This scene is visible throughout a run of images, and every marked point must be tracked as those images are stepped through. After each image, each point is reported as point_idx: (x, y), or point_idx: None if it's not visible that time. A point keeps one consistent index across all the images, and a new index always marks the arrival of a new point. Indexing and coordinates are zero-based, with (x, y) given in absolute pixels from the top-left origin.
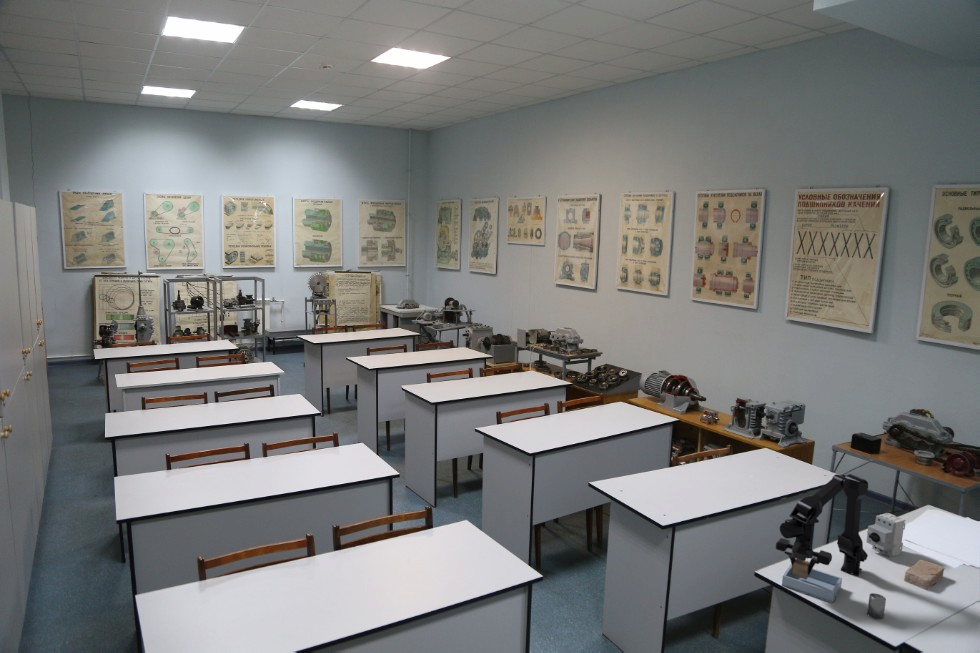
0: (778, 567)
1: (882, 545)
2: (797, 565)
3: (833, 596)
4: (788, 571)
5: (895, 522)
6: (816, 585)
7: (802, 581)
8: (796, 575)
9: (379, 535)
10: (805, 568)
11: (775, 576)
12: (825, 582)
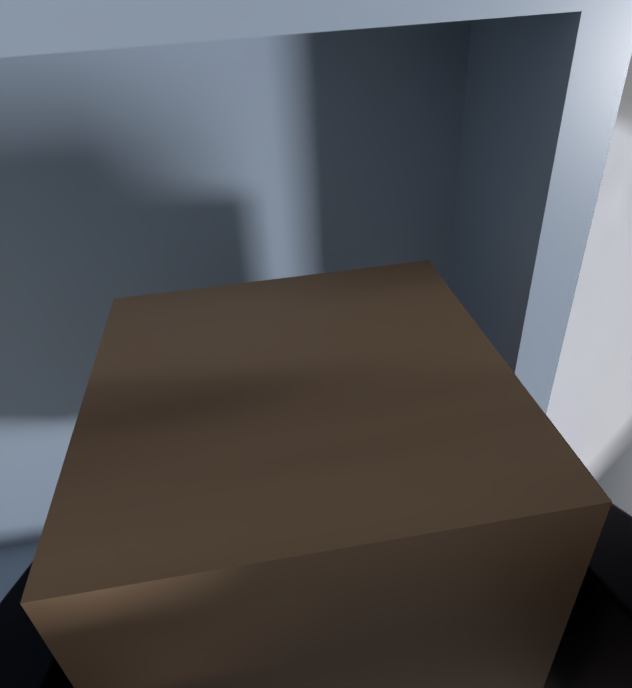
0: (595, 446)
1: None
2: (426, 480)
3: None
4: (529, 299)
5: None
6: (42, 394)
7: (70, 38)
8: (342, 281)
9: None
10: (118, 515)
11: (628, 209)
12: (22, 538)
